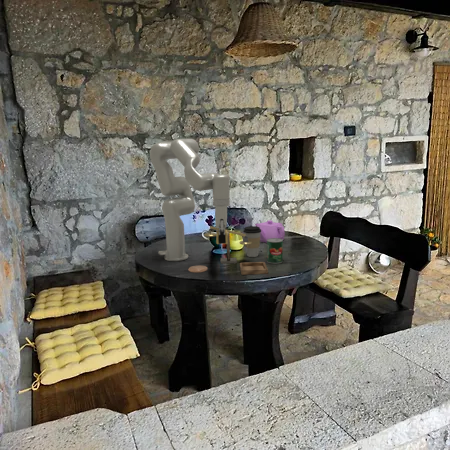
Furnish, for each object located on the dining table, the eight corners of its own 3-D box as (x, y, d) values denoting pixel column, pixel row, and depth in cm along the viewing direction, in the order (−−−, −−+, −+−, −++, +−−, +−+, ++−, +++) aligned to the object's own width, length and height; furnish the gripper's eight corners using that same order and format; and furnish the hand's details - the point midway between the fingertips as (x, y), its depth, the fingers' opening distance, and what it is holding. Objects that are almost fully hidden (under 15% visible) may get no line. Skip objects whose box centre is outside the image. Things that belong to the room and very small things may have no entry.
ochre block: (216, 243, 182) (216, 233, 181) (216, 241, 187) (216, 230, 186) (227, 243, 182) (227, 232, 181) (227, 240, 187) (227, 230, 186)
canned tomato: (274, 264, 196) (274, 242, 194) (263, 261, 202) (263, 239, 200) (286, 261, 201) (286, 240, 198) (275, 258, 207) (275, 237, 205)
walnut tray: (241, 274, 182) (241, 270, 182) (239, 266, 194) (239, 262, 194) (267, 273, 183) (267, 269, 182) (264, 265, 195) (264, 261, 194)
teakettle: (285, 243, 236) (285, 222, 234) (256, 244, 237) (256, 223, 234) (282, 237, 253) (282, 217, 251) (255, 237, 253) (254, 218, 251)
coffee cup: (260, 258, 208) (260, 229, 205) (242, 257, 209) (241, 229, 207) (262, 253, 217) (262, 225, 214) (245, 252, 219) (244, 225, 216)
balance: (205, 264, 200) (203, 227, 196) (205, 260, 206) (204, 225, 202) (252, 262, 200) (251, 226, 197) (251, 259, 206) (250, 223, 203)
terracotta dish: (187, 272, 187) (187, 271, 187) (188, 267, 196) (188, 265, 196) (207, 272, 188) (207, 270, 187) (207, 266, 196) (207, 265, 196)
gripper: (212, 199, 189) (213, 237, 193) (212, 205, 172) (213, 246, 176) (228, 199, 189) (229, 237, 193) (230, 205, 173) (231, 246, 176)
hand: (221, 241), depth 185 cm, fingers closed on ochre block, 5 cm apart
